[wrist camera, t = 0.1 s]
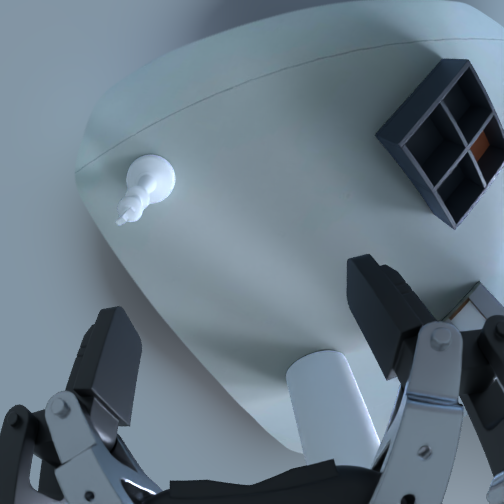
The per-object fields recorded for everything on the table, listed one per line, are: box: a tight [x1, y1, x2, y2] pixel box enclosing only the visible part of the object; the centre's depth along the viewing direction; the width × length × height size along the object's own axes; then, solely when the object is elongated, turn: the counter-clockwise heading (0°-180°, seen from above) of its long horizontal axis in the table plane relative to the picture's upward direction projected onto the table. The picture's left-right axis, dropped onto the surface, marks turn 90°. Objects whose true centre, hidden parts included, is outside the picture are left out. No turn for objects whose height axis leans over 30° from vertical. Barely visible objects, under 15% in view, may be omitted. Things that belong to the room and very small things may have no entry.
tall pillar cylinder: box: [286, 350, 380, 469], centre depth 35 cm, size 11×11×25 cm
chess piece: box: [115, 154, 175, 226], centre depth 23 cm, size 5×5×10 cm
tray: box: [375, 59, 504, 230], centre depth 25 cm, size 14×14×5 cm
